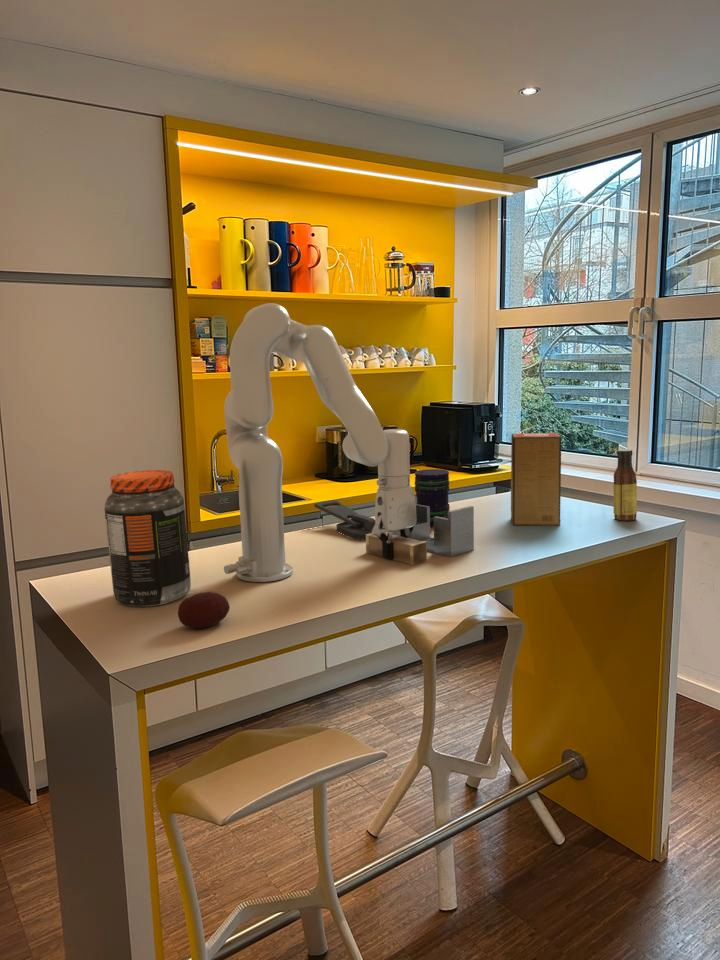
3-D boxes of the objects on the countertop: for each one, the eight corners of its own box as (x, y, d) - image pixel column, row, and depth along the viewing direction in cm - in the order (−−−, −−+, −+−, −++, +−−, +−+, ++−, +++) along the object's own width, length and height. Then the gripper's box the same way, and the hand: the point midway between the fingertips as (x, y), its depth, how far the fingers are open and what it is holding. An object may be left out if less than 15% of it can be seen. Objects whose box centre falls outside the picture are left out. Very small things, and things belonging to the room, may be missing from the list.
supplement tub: (172, 580, 165) (163, 465, 161) (204, 596, 153) (195, 473, 148) (101, 595, 155) (90, 474, 151) (130, 615, 143) (118, 484, 139)
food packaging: (556, 518, 213) (558, 432, 209) (561, 525, 204) (562, 436, 200) (510, 518, 215) (510, 432, 211) (512, 525, 206) (512, 436, 201)
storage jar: (447, 518, 217) (446, 468, 214) (452, 526, 207) (452, 474, 204) (413, 520, 216) (412, 469, 214) (417, 527, 207) (416, 475, 204)
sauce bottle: (640, 518, 210) (642, 449, 206) (631, 522, 205) (633, 452, 202) (617, 515, 214) (619, 447, 211) (608, 519, 209) (610, 450, 206)
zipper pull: (336, 499, 217) (387, 512, 197) (337, 520, 219) (388, 536, 198) (310, 503, 212) (360, 517, 192) (311, 525, 214) (361, 542, 193)
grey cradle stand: (451, 557, 176) (450, 512, 175) (392, 542, 191) (391, 501, 189) (473, 549, 182) (473, 506, 180) (414, 536, 197) (414, 496, 195)
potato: (171, 627, 136) (169, 595, 135) (220, 613, 143) (218, 583, 141) (189, 638, 131) (187, 604, 130) (239, 623, 137) (237, 591, 136)
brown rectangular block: (413, 565, 171) (412, 545, 170) (366, 553, 182) (365, 534, 181) (426, 561, 174) (426, 541, 173) (379, 549, 185) (379, 531, 185)
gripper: (379, 488, 166) (381, 566, 170) (429, 478, 178) (430, 551, 181) (357, 485, 172) (359, 560, 175) (407, 475, 183) (408, 546, 186)
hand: (395, 555), depth 178 cm, fingers closed on brown rectangular block, 4 cm apart
